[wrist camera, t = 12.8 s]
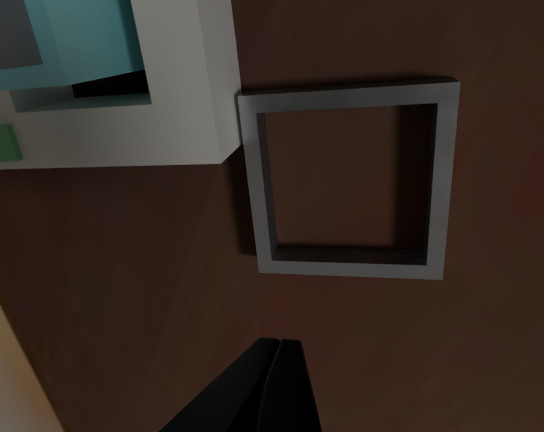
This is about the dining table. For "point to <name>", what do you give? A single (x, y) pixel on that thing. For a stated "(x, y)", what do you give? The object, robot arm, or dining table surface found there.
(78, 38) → the plug
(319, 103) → the open square ring
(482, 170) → the dining table surface
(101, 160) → the frame
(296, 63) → the dining table surface
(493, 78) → the dining table surface
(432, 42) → the dining table surface
